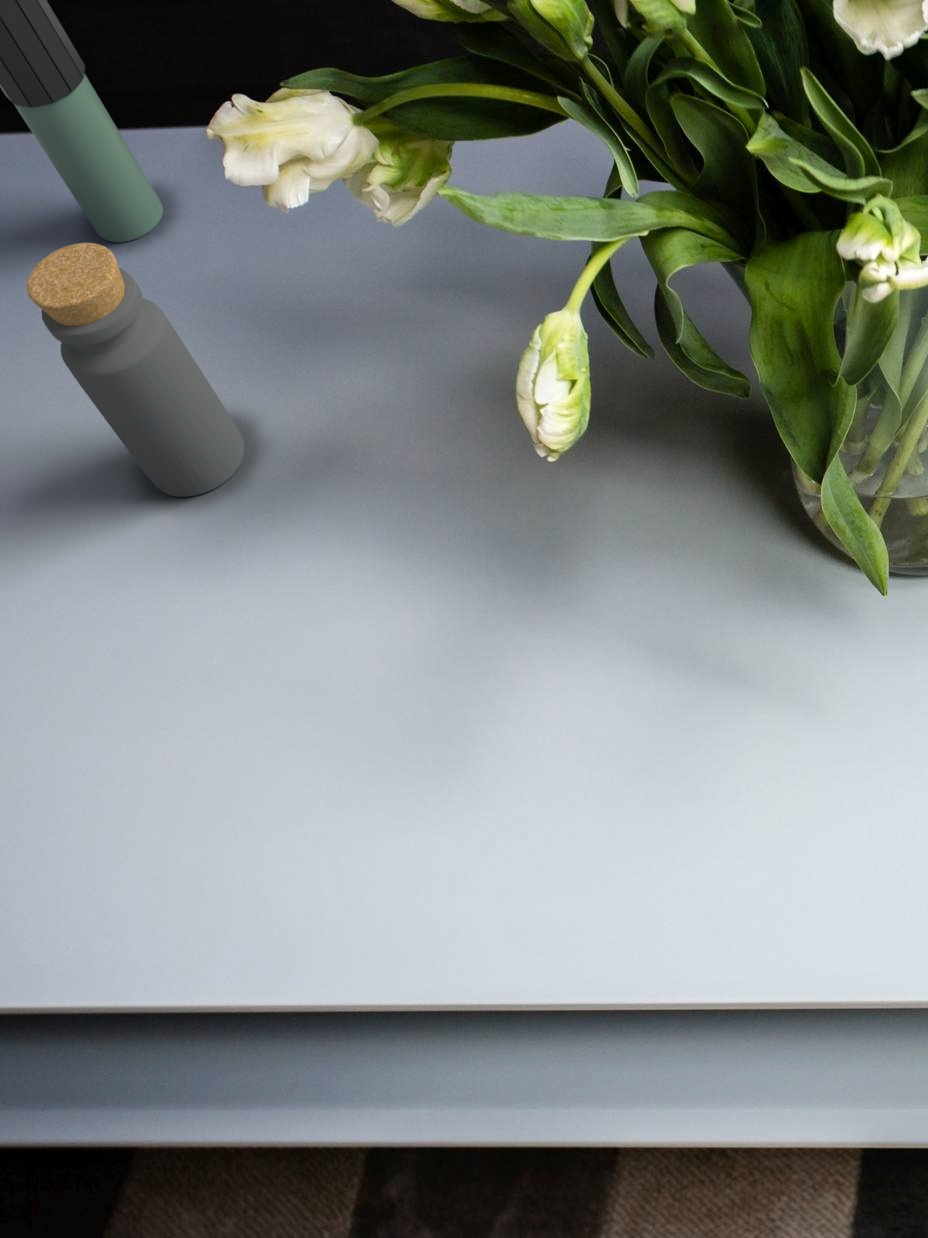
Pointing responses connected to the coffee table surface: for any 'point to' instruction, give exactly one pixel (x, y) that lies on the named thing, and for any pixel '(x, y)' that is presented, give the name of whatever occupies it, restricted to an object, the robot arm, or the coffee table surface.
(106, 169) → the spray can
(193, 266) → the coffee table surface
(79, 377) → the bottle
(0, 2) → the dark grey grooved cylinder
